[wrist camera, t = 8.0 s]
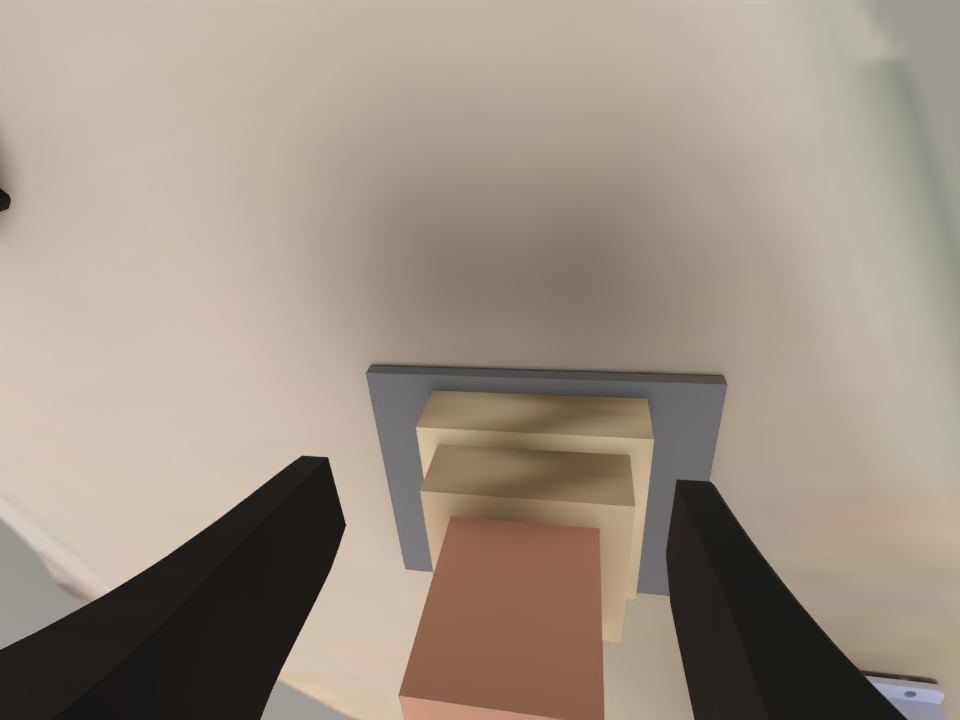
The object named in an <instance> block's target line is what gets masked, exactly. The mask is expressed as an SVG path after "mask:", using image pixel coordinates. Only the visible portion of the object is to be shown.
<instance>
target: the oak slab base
mask: <svg viewBox="0 0 960 720" xmlns="http://www.w3.org/2000/svg"><path fill="white" fill-rule="evenodd" d="M416 431H417V437H418V444H419V450H420V457H421V463H422V469H423V476H424V479H425V477H426V474H427V471H428V469H429V466H430V463H431V461H432V458H433V455H434V453H435V450H436V447H437V445H438V444H440V445H458V446H476V447H494V448H511V449H529V450H547V451H565V452H583V453H601V454H618V455H630V459H631V469H632V479H633V488H634V498H635V516H634V525H633V535H632V545H631V555H630V565H629V575H628V585H627V594H626V599H632V600H636V593H637V584H638V576H639V567H640V558H641V550H642V541H643V532H644V524H645V515H646V506H647V498H648V489H649V480H650V472H651V463H652V454H653V446H654V435H653V429H652V423H651V417H650V411H649V405H648V399H642V398H616V397H589V396H562V395H536V394H509V393H483V392H456V391H432V393H431V395H430V397H429V399H428V401H427V404H426V406H425V408H424V410H423V413H422V415H421V417H420V419H419V422H418V424H417V426H416Z"/></svg>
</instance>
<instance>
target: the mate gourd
mask: <svg viewBox="0 0 960 720" xmlns="http://www.w3.org/2000/svg"><path fill="white" fill-rule="evenodd" d="M9 204H10V197H9V195H8V194H6V193H5V192H4V191H2V190H1V189H0V212H1V211H3V210H7V209H8V208H9Z"/></svg>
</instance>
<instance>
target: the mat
mask: <svg viewBox="0 0 960 720" xmlns="http://www.w3.org/2000/svg"><path fill="white" fill-rule="evenodd" d="M366 376H367V381H368V386H369V391H370V396H371V401H372V406H373V411H374V416H375V421H376V426H377V431H378V435H379V440H380V445H381V450H382V455H383V460H384V465H385V470H386V475H387V480H388V485H389V490H390V495H391V500H392V505H393V510H394V515H395V520H396V525H397V530H398V535H399V540H400V545H401V550H402V555H403V560H404V565H405V569H408V570H418V571H428V572H433V567H432V561H431V555H430V549H429V543H428V537H427V530H426V524H425V518H424V512H423V506H422V500H421V494H420V490H421V487H422V485H423V482H424V476H423V469H422V463H421V457H420V450H419V444H418V437H417V431H416V426H417V424H418V422H419V419H420V417H421V415H422V413H423V410H424V408H425V406H426V404H427V401H428V399H429V397H430V395H431V393H432V391H456V392H483V393H509V394H536V395H562V396H589V397H616V398H642V399H648V405H649V411H650V417H651V423H652V429H653V435H654V446H653V454H652V463H651V472H650V480H649V489H648V498H647V506H646V515H645V524H644V532H643V541H642V550H641V558H640V567H639V576H638V584H637V593H647V594H657V595H667V596H670V594H669V584H668V573H667V562H666V547H667V541H668V534H669V527H670V520H671V514H672V507H673V500H674V493H675V487H676V480H677V479H680V480H696V481H709V479H710V473H711V468H712V463H713V457H714V452H715V447H716V441H717V436H718V431H719V425H720V420H721V415H722V409H723V404H724V399H725V393H726V388H727V383H726V381H725V378H724V376H705V375H671V374H638V373H604V372H570V371H537V370H503V369H469V368H436V367H402V366H370V368H369V369H368V371H367V372H366Z"/></svg>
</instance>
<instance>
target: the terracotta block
mask: <svg viewBox="0 0 960 720" xmlns="http://www.w3.org/2000/svg"><path fill="white" fill-rule="evenodd" d="M399 699H400V703H401V707H402V712H403V716H404V720H604V686H603V645H602V604H601V564H600V529H599V528H587V527H575V526H562V525H550V524H538V523H526V522H514V521H502V520H490V519H478V518H465V517H453V516H450V520H449V523H448V527H447V530H446V534H445V537H444V541H443V544H442V547H441V551H440V554H439V558H438V561H437V565H436V568H435V572H434V575H433V578H432V582H431V585H430V589H429V592H428V596H427V599H426V603H425V606H424V610H423V613H422V616H421V620H420V623H419V627H418V630H417V634H416V637H415V641H414V644H413V647H412V651H411V654H410V658H409V661H408V665H407V668H406V672H405V675H404V678H403V682H402V685H401V689H400V692H399Z"/></svg>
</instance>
